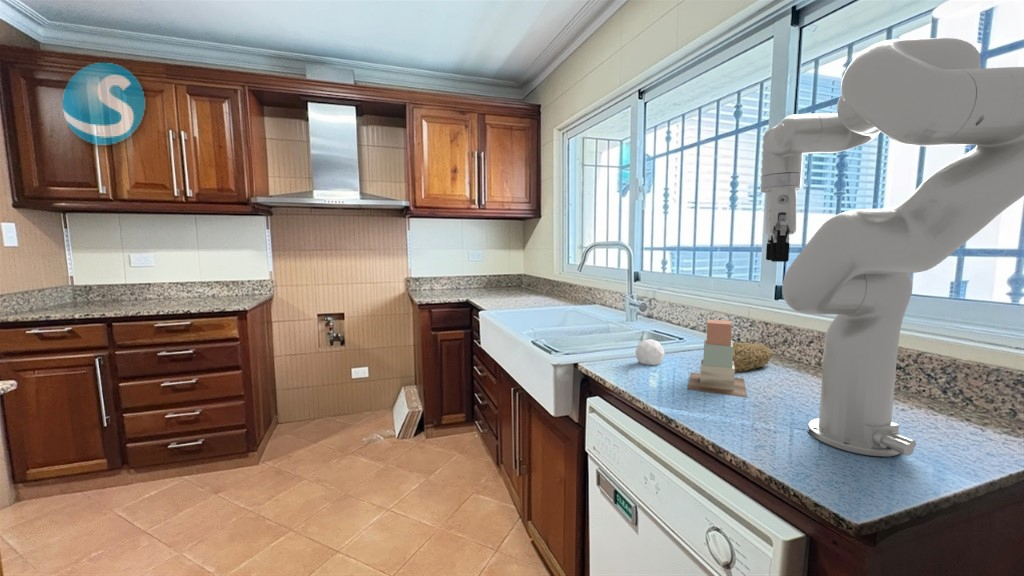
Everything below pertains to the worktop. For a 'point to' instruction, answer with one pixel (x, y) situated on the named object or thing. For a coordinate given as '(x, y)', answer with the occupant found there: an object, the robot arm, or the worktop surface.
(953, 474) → the worktop surface
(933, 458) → the worktop surface
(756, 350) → the sponge
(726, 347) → the tower middle block
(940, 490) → the worktop surface
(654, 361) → the ball
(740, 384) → the walnut board
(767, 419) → the worktop surface
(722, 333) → the terracotta block
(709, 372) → the tower base block
